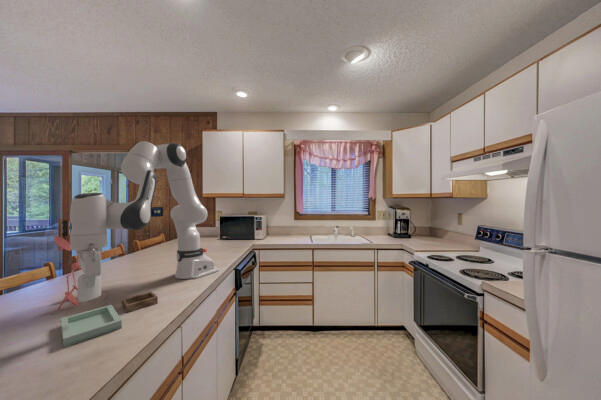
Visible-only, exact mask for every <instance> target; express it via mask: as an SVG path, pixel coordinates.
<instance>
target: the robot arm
mask: <svg viewBox="0 0 601 400" xmlns="http://www.w3.org/2000/svg"><path fill="white" fill-rule="evenodd" d="M187 157H188V156H187V151H186V149H185V148H184V146H182V144H180V143H175V142H171V143H163V144H158V145H155V144H153V143H151V142H148V141H139V142H138V143H136V144H135V145H133V147H132V148H131V149H130V150H129V151H128V153H127V154H126V155H125V157H124V159H123V161H121V165H120V171H121V173H122V175H123V176H124V177H125V178H126V179H127V180H129V181H130V182H132V183H133V184H136V185H138V187H139V188H138V190H137V193H136V198H135V199H134V200H132V201H130V202H114V201H112V200H110V199H108V198H107V197H105V194H104V193H102V192H85V193H79V194H76V195H75V196H73V198H72V200H71V204H70V211H69V217H70V218H69V222H70V224H71V230H70V235H69V236H70V237H69V239H70V240H69V241H70V243H69V244H70V251H75V250H76V251H75V255H76V256H77V255H78V263H79V265H80V267H79V268H80V269H81V271H82V274H84V275H85V277H86V278H87V287H88V288H90V287H94V286H95V278H96V276H99V275H101V276H102V254H101V253H102V252H103V248H106V247H107V246H108V230H129V231H130V230H132V231H140V230H143V229H144V228H146V227H147V226H148V225H149V223H150V222H151V218H152V208H153V202H154V198H155V194H156V188H157V186H158V185H157V184H158V177H157V174H156V173H155V170H156V169H157V170H158V169H159V170H160V169H165V170H166V175H167V182H168V184H169V187H170V188H169V189H170V193H171V195H172V197H173V198H174V200H175V201H176V202H177V203H178V205H175V206H173V207H172V208H171V210H170V213H169V214H170V219H172V221H173V223H174V224H173V225H174V227H175V231H176V236H177V250H176V261H177V264H176V270H175V275H174V278H176V279H181V280H182V279H183V280H185V279H186V280H187V279H188V280H189V279H199V278H202V277H205V276H208V275H211V274H214V273H217V272H219V271H220V270H219V269H220V268H219V267H218V266H215V262H214V259H212V258H211V257H210V256H208V255H206V254H204V253H207V249H206V248H202V247H201V234H200V232H199V231H198V229H197V225H199V224H203V223H204V222H206V220H207V218H208V209H207V208H206V207H205V206H204V205H203V204H202V203H201V201H200V199H199V197H198V195H197V193H196V191H195V188H194V183H193V179H192V176H191V175H192V174H191V172H190V169H189V166H188V164H187Z"/></svg>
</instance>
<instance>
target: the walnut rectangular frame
mask: <svg viewBox="0 0 601 400" xmlns="http://www.w3.org/2000/svg"><path fill="white" fill-rule="evenodd" d="M158 300H159V299H158V296H157V294H155V293H154V292H153V291H148V292H144V293H141V294H137V295H134V296H130V297H129V296H128V297H126V298H122V299H121V308H122V309H123V310H124V311H125V313H129V312H132V311H133V312H134V311H137V310H140V309H143V308H146V307H149V306H152V305H156V304H158V302H159V301H158Z"/></svg>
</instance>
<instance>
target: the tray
mask: <svg viewBox="0 0 601 400" xmlns="http://www.w3.org/2000/svg"><path fill="white" fill-rule="evenodd" d="M122 327H123V326H122V318H121V317H120V315H119V314H118V312H117V311H116V309H115V308H114V307H113V305H112V304H109V305H105V306H101V307H98V308H94V309H91V310H87V311H83V312H80V313H76V314H72V315H69V316H65V317H61V318H60V329H61V337H62V347H63V349H64V348H67V347H70V346H73V345H75V344H78V343H81V342H85V341H87V340H91V339H94V338H96V337H99V336H103V335H105V334H108V333H111V332H114V331H116V330H120V329H122Z"/></svg>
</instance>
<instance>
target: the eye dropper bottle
mask: <svg viewBox="0 0 601 400" xmlns="http://www.w3.org/2000/svg"><path fill="white" fill-rule="evenodd" d="M76 286H77V290H76V291H77V292H76V293H77V295H76V296H77V298H76V300H77V302H81V303H82V302H83V303H84V302H87V301H91V300H94V299H97V298H99V297H101V295H102V292H101V291H102V274H101V275H99V276H96V278H95V286H94V287H90V288H88V287H87V278H86V277H85V275H84V273H82V274H81V275H80V276H78V277H77V285H76Z"/></svg>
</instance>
